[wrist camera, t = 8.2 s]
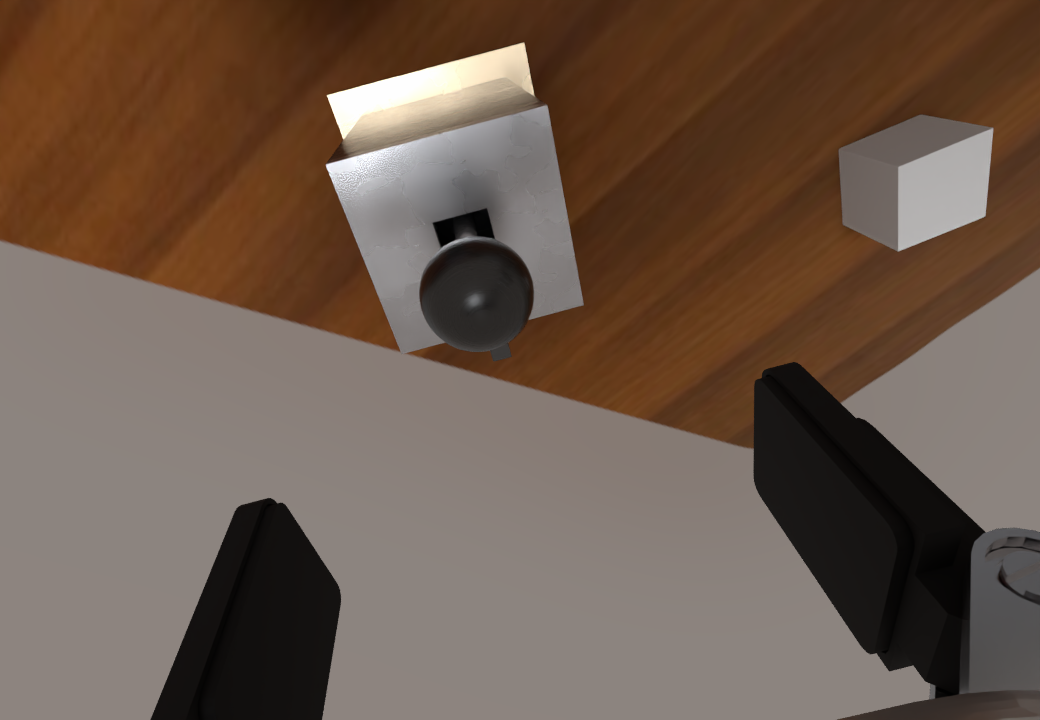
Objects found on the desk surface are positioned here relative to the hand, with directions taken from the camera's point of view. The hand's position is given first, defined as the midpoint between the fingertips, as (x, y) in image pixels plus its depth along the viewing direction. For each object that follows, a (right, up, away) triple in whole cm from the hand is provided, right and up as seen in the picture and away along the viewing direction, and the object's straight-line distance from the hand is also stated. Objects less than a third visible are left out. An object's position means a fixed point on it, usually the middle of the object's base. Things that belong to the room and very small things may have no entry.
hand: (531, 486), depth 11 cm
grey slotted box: (-5, +15, +25) cm, 30 cm away
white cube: (+26, +16, +30) cm, 43 cm away
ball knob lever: (-4, +12, +21) cm, 25 cm away
